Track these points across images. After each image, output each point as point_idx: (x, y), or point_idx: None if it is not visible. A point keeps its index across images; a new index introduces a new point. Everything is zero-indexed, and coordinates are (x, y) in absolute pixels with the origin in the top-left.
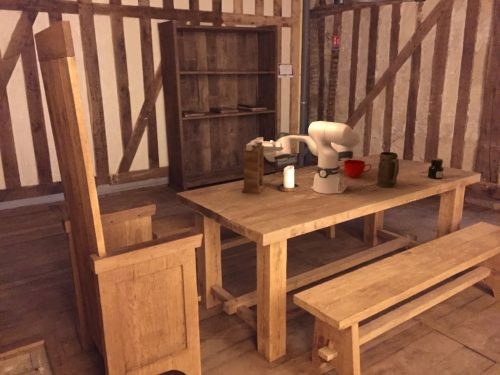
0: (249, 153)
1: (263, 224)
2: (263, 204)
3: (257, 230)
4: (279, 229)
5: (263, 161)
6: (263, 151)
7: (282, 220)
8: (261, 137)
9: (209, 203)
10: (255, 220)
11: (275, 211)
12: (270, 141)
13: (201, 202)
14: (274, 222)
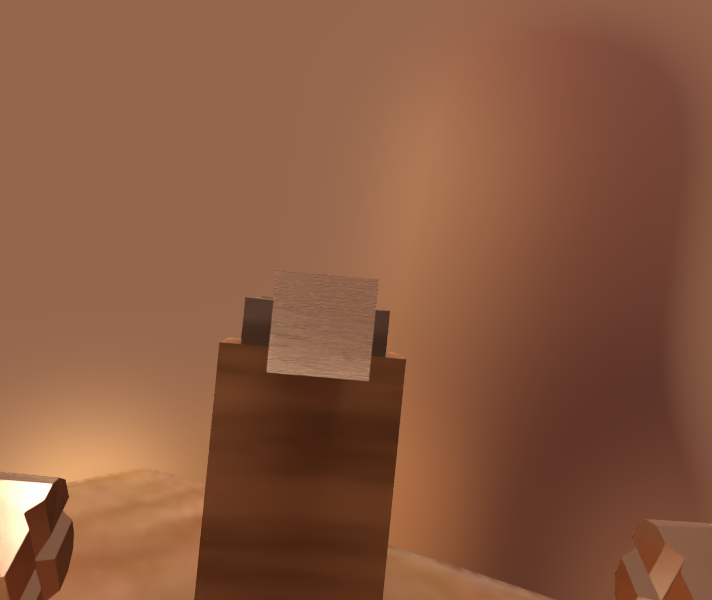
0: None
1: (147, 491)
2: (149, 593)
3: (166, 475)
4: (93, 477)
5: (198, 561)
6: (212, 421)
7: (70, 505)
8: (309, 273)
9: (439, 582)
10: (178, 503)
11: (88, 546)
12: (59, 504)
13: (485, 587)
14: (105, 498)
